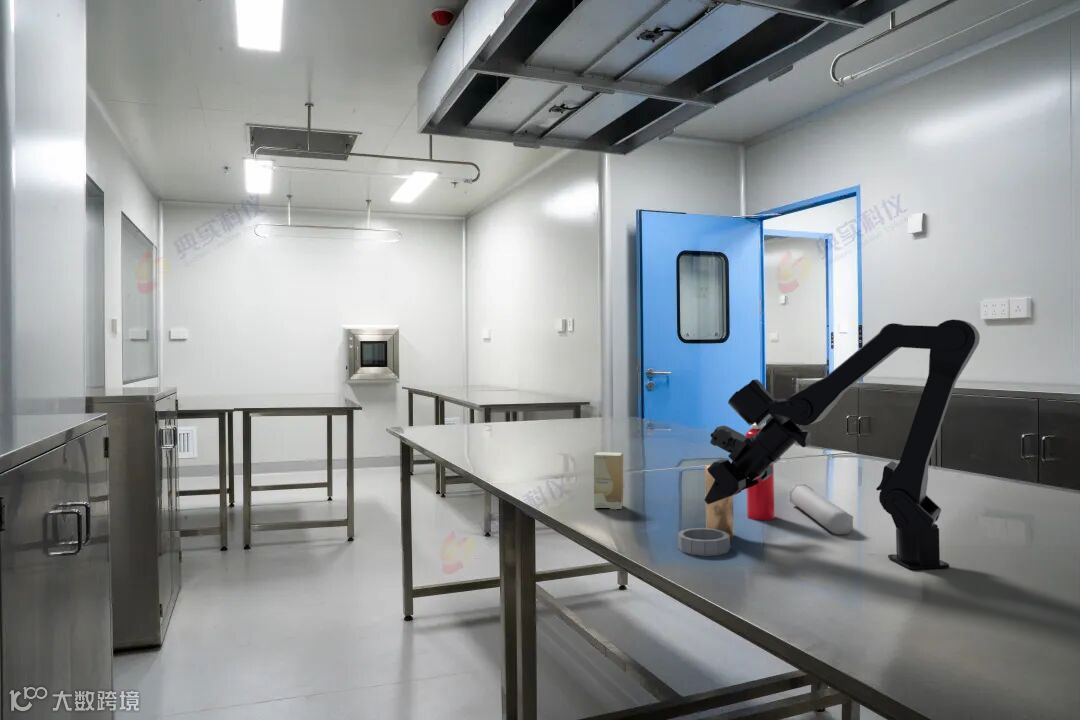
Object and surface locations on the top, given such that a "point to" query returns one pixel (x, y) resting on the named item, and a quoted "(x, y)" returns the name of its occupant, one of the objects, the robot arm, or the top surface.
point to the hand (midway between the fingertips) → (712, 499)
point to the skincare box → (608, 480)
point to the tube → (821, 509)
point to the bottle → (760, 491)
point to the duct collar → (704, 541)
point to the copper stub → (718, 509)
